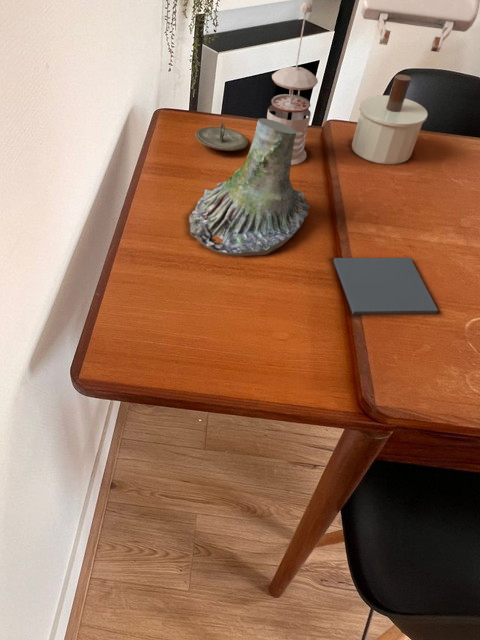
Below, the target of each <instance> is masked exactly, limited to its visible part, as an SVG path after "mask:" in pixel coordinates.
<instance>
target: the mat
mask: <svg viewBox="0 0 480 640" xmlns="http://www.w3.org/2000/svg"><path fill="white" fill-rule="evenodd" d="M333 264H334V267H335V269H336V272H337V275H338V278H339V280H340V283H341V286H342V288H343V291H344V293H345V297H346V300H347V302H348V305H349V308H350V311H351V313H352V315H423V314H425V315H426V314H427V315H429V314H431V315H432V314H438V312H439V310H438V307H437V306H436V303H435V302H434V300H433V298H432V296H431V294H430V292H429V290H428V288H427V286H426V285H425V283H424V281H423V279H422V277H421V274H420V273H419V271H418V269H417V267H416V266H415V264H414V261H413V260H412V258H411V257H334V258H333Z"/></svg>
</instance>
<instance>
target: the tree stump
mask: <svg viewBox="0 0 480 640" xmlns="http://www.w3.org/2000/svg"><path fill="white" fill-rule="evenodd" d="M295 136H296V131H295V130H294V129H293V128H291V127H289V126H287V125H285V124H283V123H280V122H277V121H274V120H270V119H267V118H265V117H264V118H263V117H262V118H258V120H257V124H256V127H255V132H254V135H253V139H252V142H251V145H250V147H249V151H248V154H247V155H246V159H245V160H244V162H243V164H242V166H241V167H239V168H237V170H235V171H234V173H232V175H231V176H229V178H228V179H227V180H226V181H221V182H218V183H217V184H216V188H214V189H213V188H212V189H210V190H209V189H207V188H206V189H204V194H203V196H202V197H201V198H200V199H198V201H197V204H196V206H195V209H194V210H193V211H192V212H191V213H190V215H189V217H188V221H189V229H190V235H191V236H192V237H194V239H196V240H197V241H198V242H199V243H200V244H201V245H203V246H204V247H205V248H206V249H209V250H211V251H213V252H216V253H217V254H222V255H226V256H233V257H252V256H267V255H268V254H271V253H273V252H275V251H276V250H279V249H280V248H281V247H282V246H284V244H285V243H287V242H288V241H289V240H290V239H291V238H293V236H294V235H295V234H296V233H297V232H298V231H299V229H300V228H301V227H302V226H303V223H304V221H305V219H306V218H307V217H309V211H308V210H310V208H311V207H312V206H311V205H309V204H308V203H307V201H306V200H307V199H306V195H305V193H304V192H303V191H302V190H296V189H294V186H293V184H292V182H291V179H290V175H291V167H292V165H291V159H292V152H293V145H294V140H295ZM214 237H217V238H219V239H221V240H222V241H218V242H217V240H216V239H215V238H214Z"/></svg>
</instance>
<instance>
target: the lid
mask: <svg viewBox="0 0 480 640" xmlns="http://www.w3.org/2000/svg"><path fill="white" fill-rule="evenodd" d="M194 135H195V138H196V140H197V141H198V142H199V143H200V144H202V145H203V146H206V147H208V148H211V149H214V150H218V151H225V152H235V151H241V150H242V151H243V150H244V149H246V148H247V147H248V145H249V141H248V138H247V137H246V135H244V134H243V133H241V132H239V131H237V130H235V129H232V128H227V127H226V126H225V122H223V121H221V124H220V126H204V127H201V128H199V129H197V130H196V131H195V134H194Z"/></svg>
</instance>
